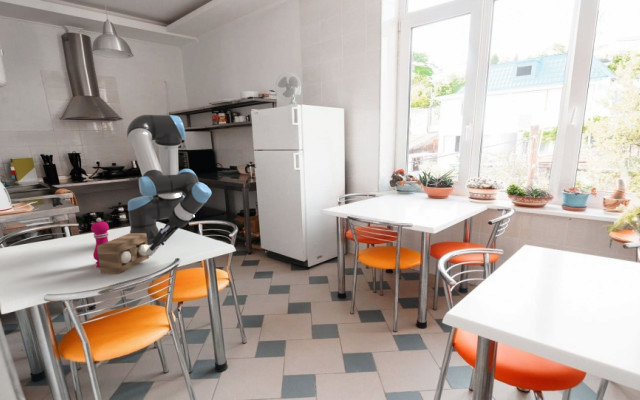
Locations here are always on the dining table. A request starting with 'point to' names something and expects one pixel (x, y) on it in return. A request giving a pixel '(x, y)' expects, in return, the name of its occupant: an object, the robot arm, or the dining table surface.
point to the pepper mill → (99, 236)
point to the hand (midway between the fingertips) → (148, 253)
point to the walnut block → (113, 248)
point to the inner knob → (142, 250)
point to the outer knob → (125, 256)
